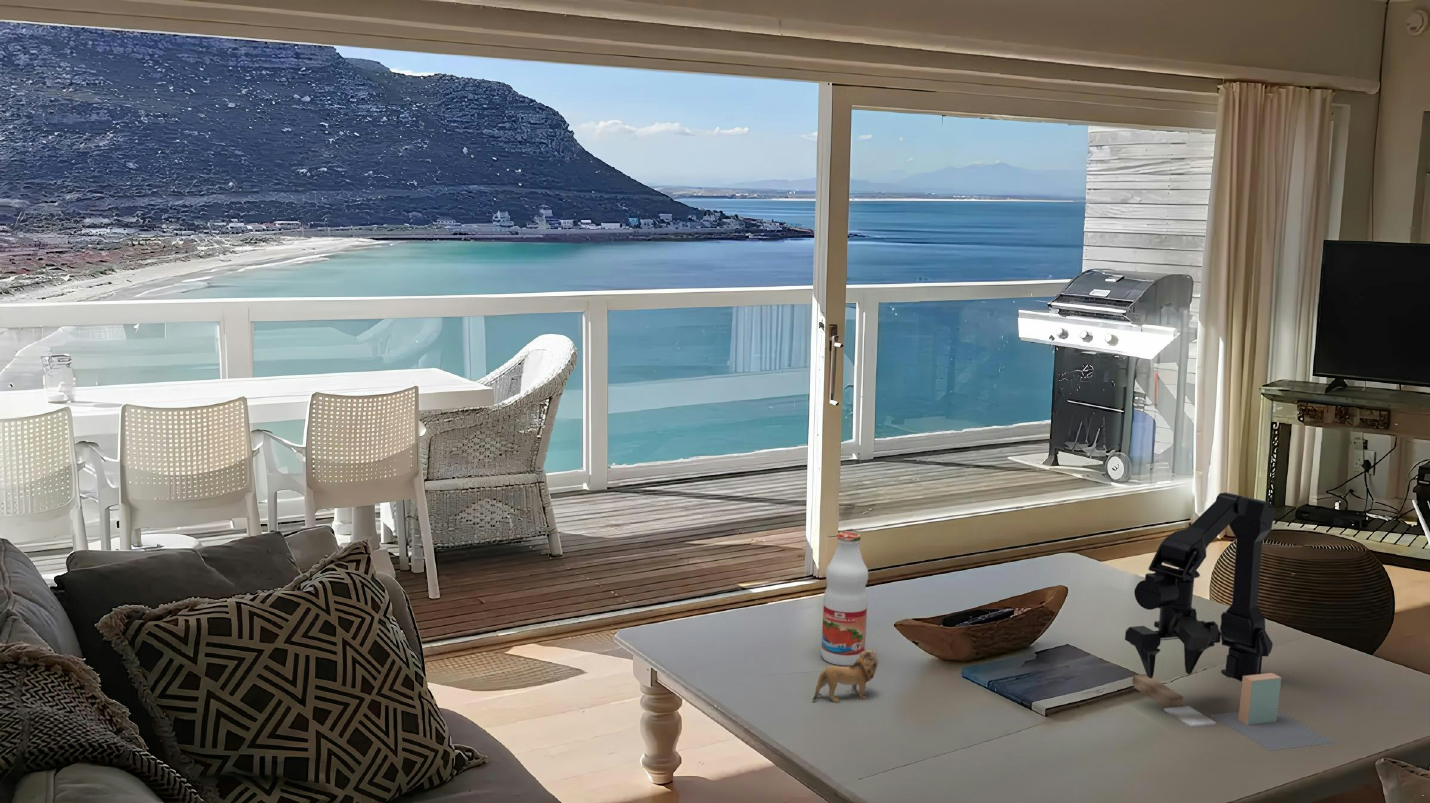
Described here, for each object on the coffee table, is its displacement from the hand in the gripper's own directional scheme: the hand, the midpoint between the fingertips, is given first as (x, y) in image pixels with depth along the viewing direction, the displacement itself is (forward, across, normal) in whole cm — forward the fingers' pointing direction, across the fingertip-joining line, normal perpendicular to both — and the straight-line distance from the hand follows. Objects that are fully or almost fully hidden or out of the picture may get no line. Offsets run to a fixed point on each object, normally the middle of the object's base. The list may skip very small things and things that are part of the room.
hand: (1169, 675), depth 231 cm
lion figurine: (+6, -62, +19) cm, 65 cm away
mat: (+6, +12, -15) cm, 20 cm away
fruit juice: (+6, -54, +38) cm, 66 cm away
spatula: (+6, 0, -1) cm, 6 cm away
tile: (+6, +12, -12) cm, 18 cm away
